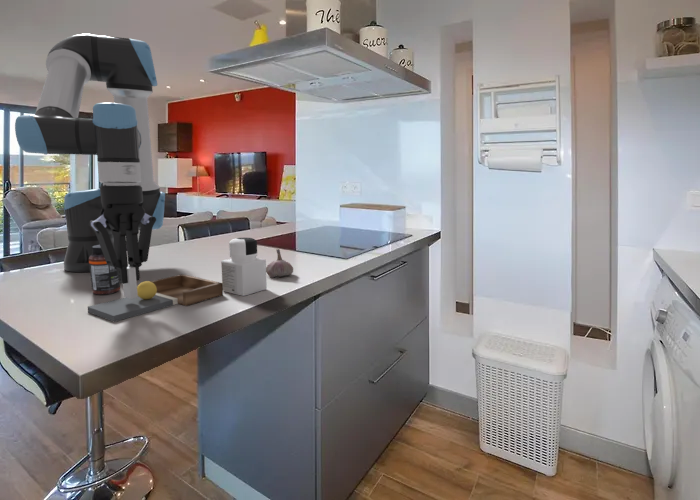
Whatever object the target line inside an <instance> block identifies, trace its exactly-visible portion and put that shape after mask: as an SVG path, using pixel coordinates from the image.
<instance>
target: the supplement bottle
mask: <svg viewBox="0 0 700 500" xmlns="http://www.w3.org/2000/svg"><path fill="white" fill-rule="evenodd" d="M92 252H93V254H92V255H91V256H90V257H89V266H90V272H89V273H90V274H89V276H90V281H91V283H90V284H91V290H92V293H93V294H95V295H98V296H99V295H100V296H101V295H102V296H103V295H104V296H105V295H112V294H115V293H117V292H119V291H120V290H121V283H120V282H119V280H118V270H117V268H116V267H113V266H109V265H107V263H106V260H105V258H104V255H103V252H102V249H101V247H100V245H95V246H93V247H92Z"/></svg>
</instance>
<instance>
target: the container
mask: <svg viewBox="0 0 700 500" xmlns="http://www.w3.org/2000/svg"><path fill="white" fill-rule="evenodd" d="M228 244H229V245H228V248H229V258H228V259H227V258H226V259H224V260H223V259H222V260H221V281H222V282H221V283H222V285H223V292H225V293H226V292H227V293H229V294H234V295H237V296H242V297H245V296H249V295H252V294H255V293H259V292H262V291H266V290H267V286H268V285H267V283H268V282H267V272H266V267H267V260H266V259H264V258H259V257H258V240H257V239H255V238H252V237H235V238H232V239H231V240H230V241H229V242H228Z"/></svg>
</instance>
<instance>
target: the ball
mask: <svg viewBox="0 0 700 500" xmlns="http://www.w3.org/2000/svg"><path fill="white" fill-rule="evenodd" d="M156 292H157V288H156V286H155V284H154V283H152V282H150V281H149V280H145V281H142V282H140V283H139V284H137V293H138V296H139V297H140V298H142V299H151V298H153V297H154V296H155V294H156Z"/></svg>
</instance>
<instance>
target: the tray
mask: <svg viewBox="0 0 700 500" xmlns="http://www.w3.org/2000/svg"><path fill="white" fill-rule="evenodd" d="M150 282H152V283H154V284H155V286H156V288H157V292H156V293H159V294H163V295H167V296H170V297H174V298H178V304H177V305H182V306H185V307H188V306H192V305H195V304H198V303H201V302H205V301H208V300H212V299H215V298H218V297H221V296H222V297H223V296H224V291H223V285H222V282H220V281H214V280H210V279H206V278H201V277H196V276H192V275H189V274H188V275H187V274H183V273H181V274H177V275H173V276H168V277H165V278H160V279H155V280H151V281H150Z"/></svg>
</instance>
